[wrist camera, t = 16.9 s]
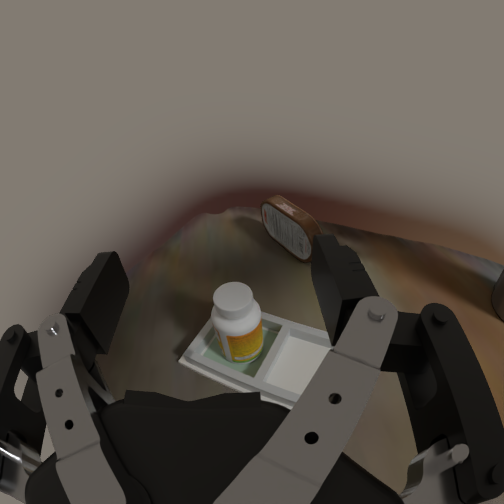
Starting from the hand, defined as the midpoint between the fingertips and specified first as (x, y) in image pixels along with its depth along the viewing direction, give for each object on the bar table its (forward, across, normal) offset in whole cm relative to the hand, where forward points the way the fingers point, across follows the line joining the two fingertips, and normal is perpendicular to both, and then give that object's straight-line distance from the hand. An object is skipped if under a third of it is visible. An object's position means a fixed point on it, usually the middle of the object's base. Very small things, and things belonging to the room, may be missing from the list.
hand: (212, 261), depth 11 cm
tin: (+32, -8, +22) cm, 40 cm away
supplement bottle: (+12, +1, +23) cm, 26 cm away
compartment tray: (+10, -3, +23) cm, 26 cm away
